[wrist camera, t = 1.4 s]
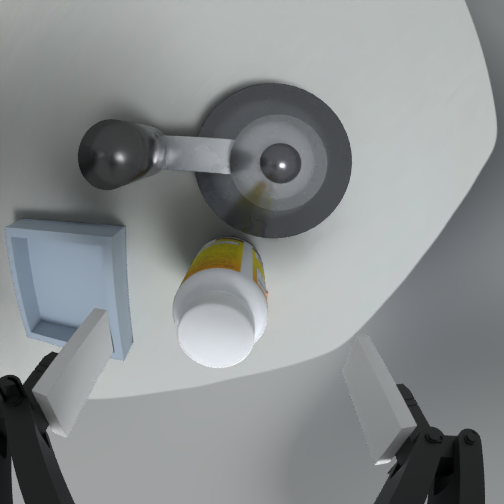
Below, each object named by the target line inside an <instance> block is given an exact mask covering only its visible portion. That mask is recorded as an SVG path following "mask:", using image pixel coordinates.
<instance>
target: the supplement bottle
mask: <svg viewBox="0 0 504 504" xmlns="http://www.w3.org/2000/svg"><path fill="white" fill-rule="evenodd" d="M173 318H174V322H175V325H176V327H177V337H178V341H179V344H180V346H181V348H182V349H183V351H184V352H185V353H186V354H187V355H188V356H189V357H190V358H191V359H192V360H194V361H195V362H197V363H199V364H202V365H204V366H208V367H214V368H224V367H230V366H233V365H235V364H237V363H239V362H241V361H242V360H243V359H245V358H246V357H247V356H248V354H249V353H250V352H251V350H252V347H253V344H254V343H255V342H256V341H257V340H258V339H259V338H260V337H261V335H262V334H263V332H264V330H265V328H266V325H267V321H268V303H267V295H266V285H265V276H264V269H263V263H262V260H261V258H260V256H259V254H258V252H257V251H256V250H255V249H254V248H253V247H252V246H251V245H250V244H249V243H247V242H245V241H244V240H241V239H238V238H234V237H221V238H217V239H214V240H212V241H210V242H208V243H207V244H206V245H204V246H203V247H202V248H201V250H200V251H199V252H198V254H197V256H196V257H195V259H194V261H193V263H192V265H191V266H190V268H189V270H188V272H187V274H186V276H185V277H184V279H183V281H182V283H181V285H180V287H179V289H178V291H177V293H176V295H175V298H174V302H173Z"/></svg>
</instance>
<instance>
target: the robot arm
mask: <svg viewBox="0 0 504 504" xmlns="http://www.w3.org/2000/svg"><path fill="white" fill-rule="evenodd" d="M112 352H113V346H112V340H111V334H110V328H109V321H108V314H107V310H103V309H98V308H94V309H93V311H92V312H91V313H90V314H89V315H88V317H87V318H86V319H85V320H84V322H83V323H82V324H81V325H80V327H79V328H78V329H77V330H76V332H75V333H74V334H73V335H72V337H71V338H70V339H69V341H68V342H67V343H66V344H65V346H64V347H63V348H62V350H61V351H60V352H59V353H55V352H51V353H49V354H48V355H46V356H45V357H44V358H43V359H42V360H41V362H40V363H39V365H37V367H36V368H35V371H33V372H32V373H31V375H30V376H29V377H28V379H27V380H26V381H25V383H24V384H23V385H22V383H21V381H20V379H19V378H18V377H17V376H14V375H6V376H3V377H1V378H0V504H13V499H12V478H11V456H12V460H13V464H14V468H15V472H16V476H17V479H18V483H19V486H20V490H21V493H22V495H23V499H24V502H25V504H75V503H74V501H73V499H72V497H71V494H70V492H69V490H68V488H67V485H66V483H65V480H64V478H63V476H62V473H61V470H60V468H59V465H58V463H57V460H56V458H55V454H54V451H53V449H52V445H51V442H50V439H49V436H48V434H47V432H46V429H47V427H48V426H50V427H51V429H52V431H53V433H56V434H59V435H61V436H64V437H66V438H68V435H69V433H70V431H71V429H72V427H73V425H74V423H75V421H76V419H77V417H78V415H79V413H80V411H81V410H82V408H83V406H84V404H85V402H86V400H87V398H88V396H89V394H90V392H91V390H92V389H93V387H94V385H95V383H96V381H97V379H98V377H99V376H100V374H101V372H102V370H103V368H104V367H105V365H106V363H107V361H108V359H109V358H110V356H111V354H112ZM342 375H343V378H344V380H345V383H346V386H347V388H348V391H349V394H350V397H351V399H352V402H353V405H354V407H355V410H356V413H357V416H358V419H359V422H360V424H361V427H362V430H363V433H364V436H365V439H366V442H367V445H368V447H369V451H370V453H371V456H372V459H373V462H374V465H378V464H383V463H389V462H390V461H391V460H392V458H393V457H394V456H396V459H397V462H396V464H395V465H394V466H393V467H392V468H391V470H390V471H389V472H388V474H390V475H389V477H388V479H387V481H386V483H385V485H384V486H383V488H382V490H381V492H380V494H379V496H378V497H377V499H376V501H375V503H374V504H424V503H425V500H426V498H427V495H428V502H427V504H485V487H484V486H485V483H484V467H483V454H482V445H481V439H480V436H479V435H478V433H477V432H475V431H474V430H472V429H464V430H462V431H461V432H460V433H459V435H458V436H445V435H444V434H443V433H442V432H441V431H440V430H439V429H437V428H435V427H430V426H429V424H428V422H427V421H426V418H425V417H424V415H423V414H422V411H421V409H420V407H419V406H418V405H417V402H416V400H414V397H413V395H412V393H411V392H410V390H409V389H408V388H407V387H405V385H403V384H397V385H396V384H395V382H394V380H393V379H392V377H391V375H390V373H389V371H388V369H387V368H386V366H385V364H384V362H383V360H382V359H381V357H380V355H379V353H378V352H377V350H376V348H375V346H374V344H373V343H372V341H371V339H370V337H369V336H368V334H355V336H354V339H353V342H352V345H351V348H350V351H349V354H348V356H347V359H346V362H345V365H344V367H343V370H342Z"/></svg>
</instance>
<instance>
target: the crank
mask: <svg viewBox="0 0 504 504" xmlns="http://www.w3.org/2000/svg"><path fill="white" fill-rule="evenodd" d="M78 163H79V167H80V170H81V173H82V175H83V176H84V178H85V179H86V180H87V181H88V182H89V183H90V184H91V185H92V186H94V187H96V188H98V189H102V190H112V189H116V188H119V187H121V186H124V185H127V184H129V183H132V182H135V181H137V180H140V179H143V178H146V177H149V176H151V175H154V174H156V173H158V172H159V171H160V170H161V169H166V170H183V171H198V172H211V173H222V174H231V176H232V179H233V181H234V183H235V185H236V187H237V189H238V190H239V191H240V193H241V194H242V195H243V196H244V197H245V198H246V199H247V200H249V201H250V202H251V203H253V204H255V205H257V206H259V207H261V208H264V209H268V210H274V211H283V210H289V209H293V208H296V207H299V206H301V205H303V204H304V203H306V202H307V201H309V200H310V199H311V198H312V197H313V196H314V195H315V194H316V193H317V192H318V190H319V189H320V187H321V185H322V183H323V182H324V179H325V176H326V171H327V155H326V150H325V147H324V144H323V142H322V140H321V138H320V137H319V135H318V134H317V133H316V132H315V130H314V129H313V128H312V127H310V126H309V125H308V124H307V123H305V122H304V121H302V120H300V119H298V118H295V117H292V116H288V115H280V114H277V115H268V116H264V117H261V118H258V119H256V120H254V121H253V122H251V123H250V124H248V125H247V126H246V127H245V128H244V129H243V130H242V131H241V132H240V133H239V135H238V136H237V138H236V139H235V140H230V139H218V138H205V137H188V136H165V134H164V133H163V132H162V131H161V130H159V129H158V128H156V127H153V126H148V125H143V124H137V123H132V122H126V121H120V120H112V119H109V120H104V121H101V122H98V123H97V124H95V125H93V126H92V127H91V128H90V129H89V130H88V131H87V132H86V134H85V135H84V137H83V138H82V141H81V143H80V146H79V151H78Z"/></svg>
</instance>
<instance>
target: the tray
mask: <svg viewBox="0 0 504 504" xmlns="http://www.w3.org/2000/svg"><path fill="white" fill-rule="evenodd" d="M4 228H5V236H6V244H7V251H8V257H9V263H10V269H11V274H12V279H13V284H14V289H15V293H16V298H17V302H18V306H19V310H20V313H21V317H22V321H23V324H24V328H25V331H26V334H27V337H29V338H33V339H36V340H39V341H43V342H46V343H50V344H53V345H57V346H61V347H64V346H65V344H66V343H67V342H68V341H69V339H70V338H71V337H72V335H73V334H74V333H75V332H76V330H77V329H78V328H79V327H80V325H81V324H82V323H83V322H84V320H85V319H86V318H87V317H88V315H89V314H90V313H91V312H92V311H93V309H94V308H98V309H103V310H107V314H108V321H109V328H110V334H111V340H112V346H113V352H112V354H111V356H110V358H112V359H117V360H122V361H124V360H125V358H126V356H127V354H128V352H129V350H130V347H131V345H132V343H133V336H132V328H131V318H130V308H129V296H128V282H127V263H126V226H115V225H103V224H90V223H78V222H64V221H51V220H37V219H21V220H19V221H17V222H15V223H12V224H10V225H8V226H6V227H4Z"/></svg>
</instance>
